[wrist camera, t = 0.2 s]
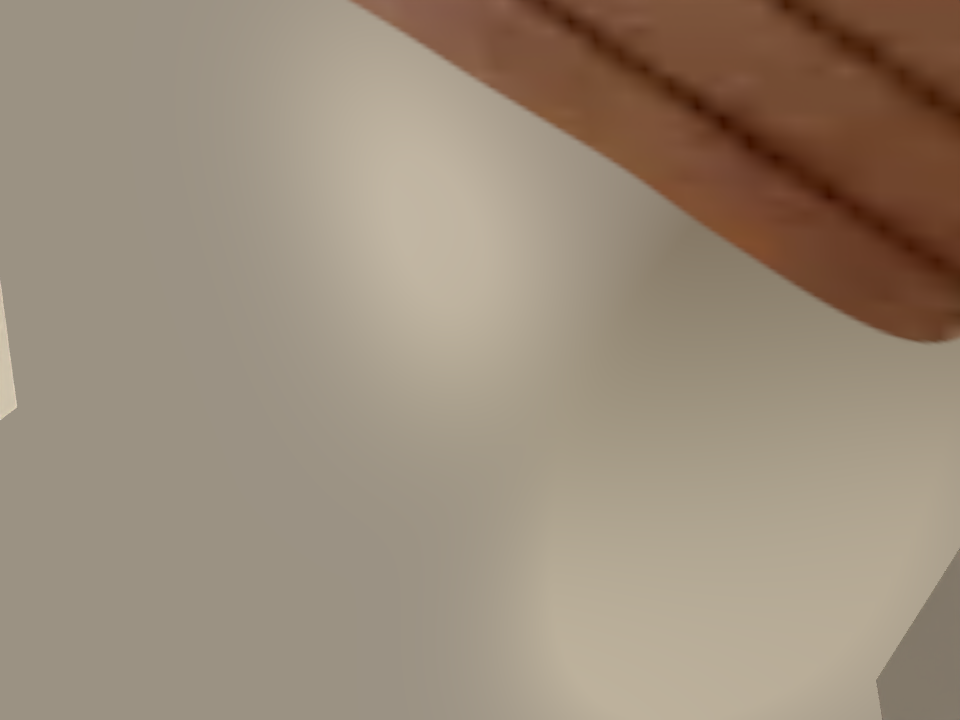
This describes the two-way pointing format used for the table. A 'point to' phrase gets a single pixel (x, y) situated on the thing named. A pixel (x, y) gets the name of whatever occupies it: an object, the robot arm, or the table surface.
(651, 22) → the table surface
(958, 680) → the robot arm
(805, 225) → the table surface
